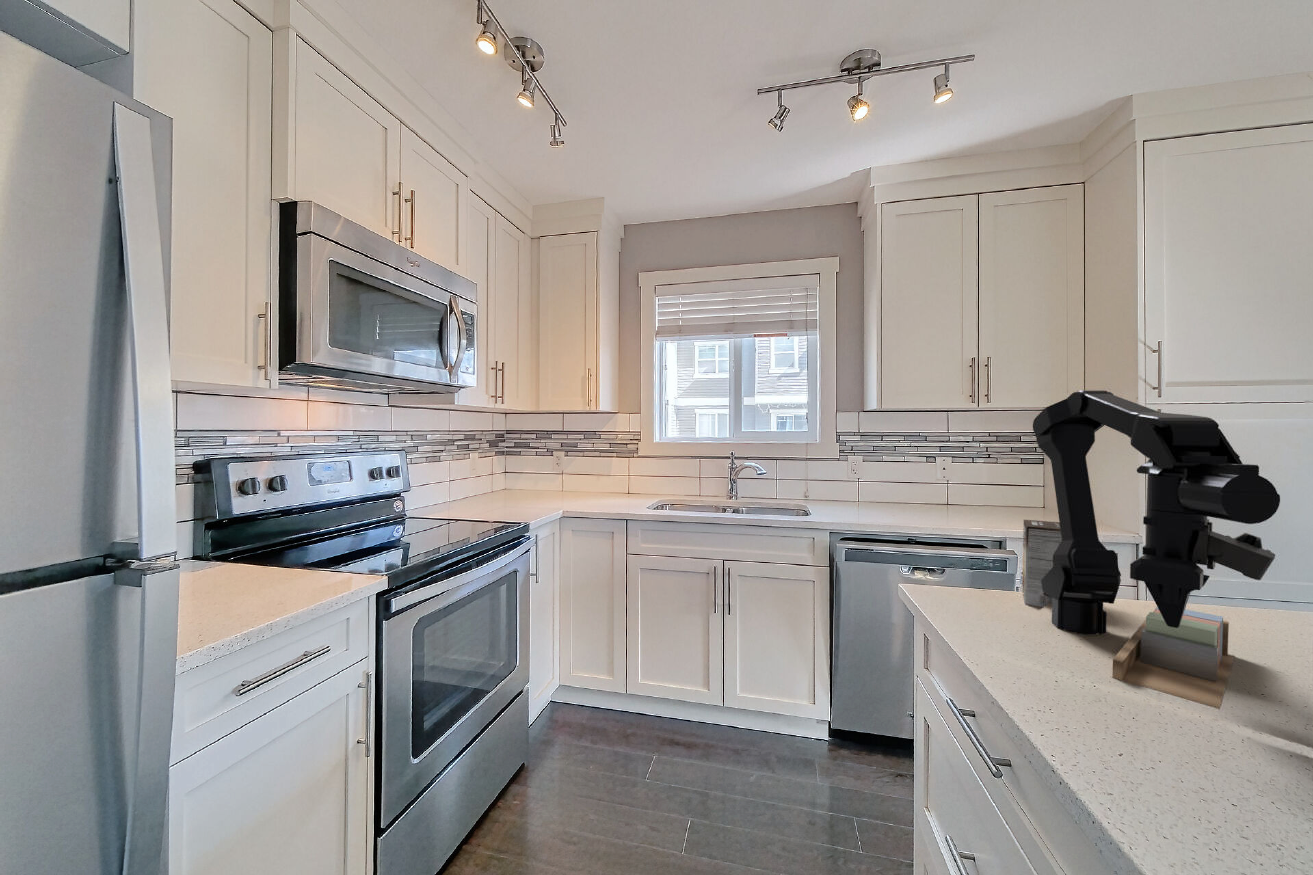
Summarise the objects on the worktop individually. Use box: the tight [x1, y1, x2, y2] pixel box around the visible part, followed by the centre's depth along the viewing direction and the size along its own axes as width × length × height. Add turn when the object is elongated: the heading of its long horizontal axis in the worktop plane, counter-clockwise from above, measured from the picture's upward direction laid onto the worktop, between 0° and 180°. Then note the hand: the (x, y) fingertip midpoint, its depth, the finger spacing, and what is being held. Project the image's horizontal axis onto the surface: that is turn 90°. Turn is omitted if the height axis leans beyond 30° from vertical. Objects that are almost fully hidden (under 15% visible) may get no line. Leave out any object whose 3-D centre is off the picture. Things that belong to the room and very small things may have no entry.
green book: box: [1145, 611, 1218, 646], centre depth 75 cm, size 4×7×6 cm, turn 39°
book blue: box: [1155, 606, 1224, 660], centre depth 80 cm, size 4×7×6 cm, turn 39°
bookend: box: [1140, 629, 1218, 682], centre depth 73 cm, size 2×8×4 cm, turn 39°
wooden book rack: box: [1112, 606, 1235, 709], centre depth 75 cm, size 24×10×6 cm, turn 129°
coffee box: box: [1021, 519, 1062, 608], centre depth 105 cm, size 9×6×16 cm
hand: (1173, 626), depth 69 cm, fingers closed
